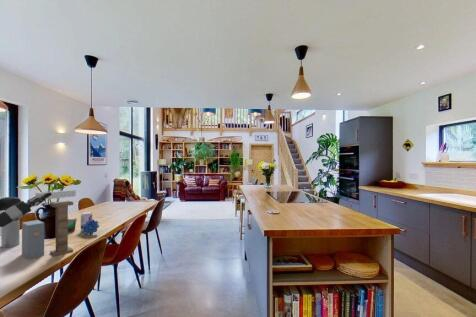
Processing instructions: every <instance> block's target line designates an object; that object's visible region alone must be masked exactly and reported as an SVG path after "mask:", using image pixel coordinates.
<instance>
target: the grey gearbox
mask: <svg viewBox="0 0 476 317" xmlns="http://www.w3.org/2000/svg"><path fill="white" fill-rule="evenodd" d="M21 255H22V256H23V257H25V258H26V259H28V260H30V259H33V258H39V257H41V256H44V255H45V222H44V221H41V220H39V219H35V220H30V221H23V222H21Z"/></svg>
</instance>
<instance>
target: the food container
mask: <svg viewBox="0 0 476 317" xmlns="http://www.w3.org/2000/svg"><path fill="white" fill-rule="evenodd" d="M77 221H78V219H77V218H72V219H71V218H68V233H69V232H75V231H76V226H77V225H76V224H77Z"/></svg>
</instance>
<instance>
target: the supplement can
mask: <svg viewBox="0 0 476 317" xmlns="http://www.w3.org/2000/svg"><path fill="white" fill-rule="evenodd" d="M91 220H93V213H92V212H91V211H89V212H88V211H86V212H82V213H81V215H80V232H81V233H83V232H82V230H83V229H84V228H83V225H85V224H86V222H87V221H91Z"/></svg>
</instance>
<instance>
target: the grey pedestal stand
mask: <svg viewBox="0 0 476 317" xmlns="http://www.w3.org/2000/svg"><path fill="white" fill-rule="evenodd" d="M49 206H50V207H52V208H55V249H53V250H50V251H49V254H50V255H52V256H53V257H58V256H60V255H61V254H62V255H66V254H69V253H73V252H74V249H73V248H72V247H70V246H69V245H68V242H69V241H68V240H69V234H68V233H69V232H68V219H69V215H68V214H69V213H68V212H69V208H68V207H69V206H74V201H71V200H61V201H55V202H54V201H53V202H49Z"/></svg>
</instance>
